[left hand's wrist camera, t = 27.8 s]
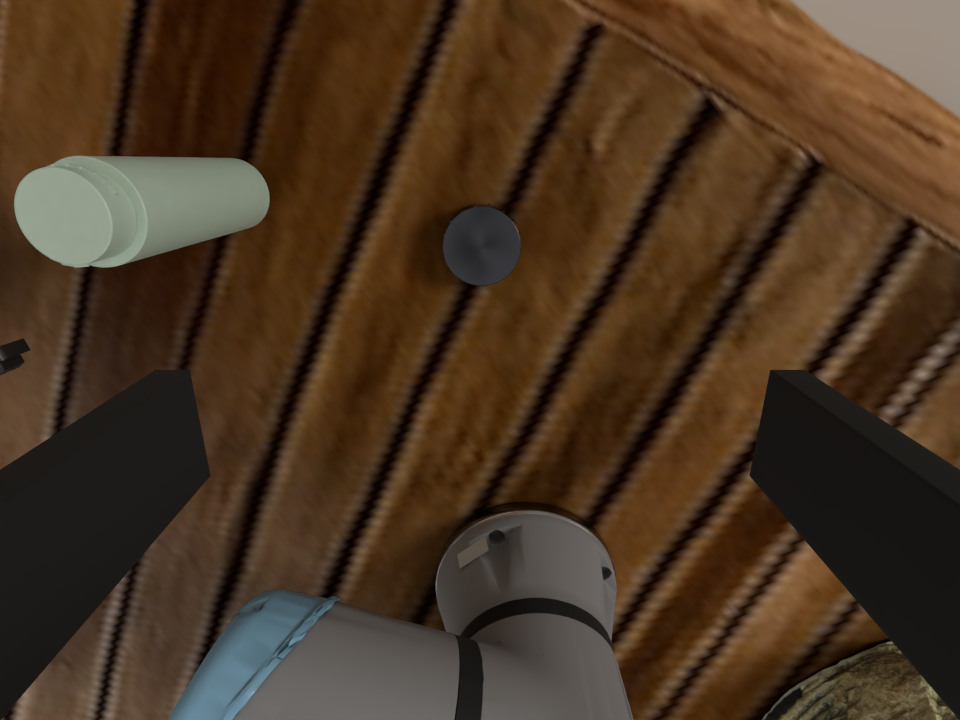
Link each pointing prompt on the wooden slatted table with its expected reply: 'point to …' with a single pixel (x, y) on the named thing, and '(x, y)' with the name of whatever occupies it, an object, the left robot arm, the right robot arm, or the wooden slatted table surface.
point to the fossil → (864, 691)
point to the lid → (481, 245)
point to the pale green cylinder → (135, 206)
